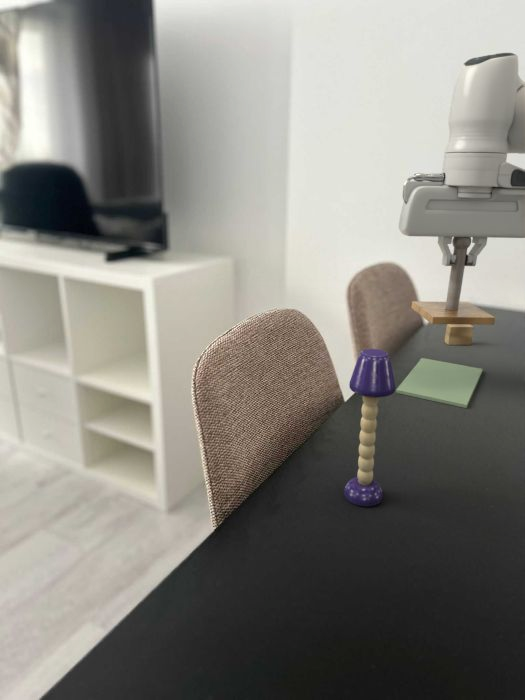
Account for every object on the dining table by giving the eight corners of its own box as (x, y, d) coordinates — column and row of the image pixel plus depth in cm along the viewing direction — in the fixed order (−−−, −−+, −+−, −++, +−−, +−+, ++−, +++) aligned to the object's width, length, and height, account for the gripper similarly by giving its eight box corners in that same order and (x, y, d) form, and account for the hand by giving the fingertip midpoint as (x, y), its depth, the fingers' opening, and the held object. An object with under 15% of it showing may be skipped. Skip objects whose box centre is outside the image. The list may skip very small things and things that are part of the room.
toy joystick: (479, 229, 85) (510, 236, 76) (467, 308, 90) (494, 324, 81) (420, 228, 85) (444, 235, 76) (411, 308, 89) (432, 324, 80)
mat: (421, 360, 99) (421, 357, 98) (482, 372, 94) (482, 369, 93) (395, 392, 84) (396, 389, 84) (466, 408, 79) (467, 404, 79)
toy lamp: (332, 492, 57) (342, 351, 52) (356, 476, 60) (369, 342, 55) (368, 512, 54) (383, 364, 48) (392, 494, 57) (409, 353, 52)
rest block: (466, 342, 110) (469, 324, 109) (470, 345, 109) (473, 326, 107) (444, 342, 110) (446, 324, 109) (448, 345, 108) (450, 326, 107)
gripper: (412, 172, 74) (401, 268, 78) (548, 176, 75) (529, 269, 80) (398, 172, 80) (389, 261, 84) (524, 175, 81) (509, 262, 86)
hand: (458, 265), depth 82 cm, fingers closed on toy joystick
